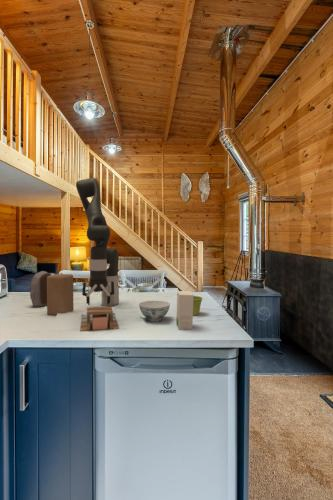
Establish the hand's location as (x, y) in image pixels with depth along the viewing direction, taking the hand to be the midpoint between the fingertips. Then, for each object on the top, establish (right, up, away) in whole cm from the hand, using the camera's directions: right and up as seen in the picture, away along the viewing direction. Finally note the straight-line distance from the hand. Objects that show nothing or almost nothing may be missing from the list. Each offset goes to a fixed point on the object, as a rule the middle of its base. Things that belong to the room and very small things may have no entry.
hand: (98, 304), depth 138 cm
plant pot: (+45, -9, +19) cm, 50 cm away
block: (-24, -8, +19) cm, 31 cm away
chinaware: (+25, -9, +8) cm, 28 cm away
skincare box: (+39, -10, -3) cm, 41 cm away
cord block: (+1, -8, -4) cm, 9 cm away
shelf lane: (+1, -9, -1) cm, 9 cm away
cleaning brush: (-41, -7, +37) cm, 56 cm away
